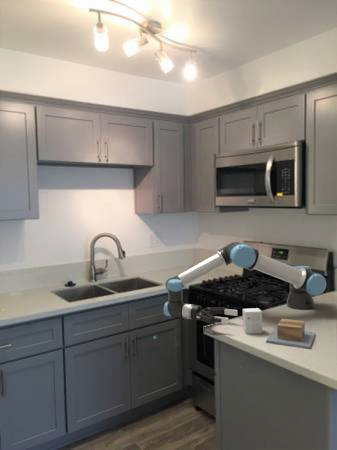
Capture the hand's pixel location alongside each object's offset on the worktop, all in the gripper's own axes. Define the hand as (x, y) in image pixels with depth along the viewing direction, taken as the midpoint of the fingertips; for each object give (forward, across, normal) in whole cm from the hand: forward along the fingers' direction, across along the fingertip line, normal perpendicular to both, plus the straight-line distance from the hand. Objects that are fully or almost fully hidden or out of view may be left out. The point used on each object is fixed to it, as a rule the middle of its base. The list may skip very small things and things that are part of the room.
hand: (232, 316), depth 183 cm
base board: (+28, +2, -6) cm, 28 cm away
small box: (+10, 0, -6) cm, 11 cm away
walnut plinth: (+28, +2, -6) cm, 28 cm away
